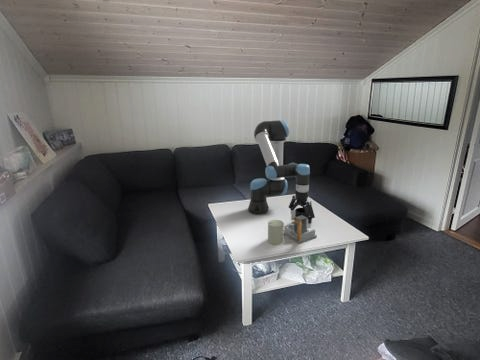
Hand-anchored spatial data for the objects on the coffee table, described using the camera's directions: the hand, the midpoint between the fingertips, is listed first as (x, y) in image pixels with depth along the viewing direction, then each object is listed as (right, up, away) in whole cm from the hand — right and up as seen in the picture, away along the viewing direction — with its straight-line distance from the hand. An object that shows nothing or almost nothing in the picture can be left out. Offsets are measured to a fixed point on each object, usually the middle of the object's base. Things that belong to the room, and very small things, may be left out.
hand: (300, 223), depth 178 cm
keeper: (-1, -7, +2) cm, 7 cm away
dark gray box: (0, -6, +1) cm, 6 cm away
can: (-16, -10, -5) cm, 19 cm away
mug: (+6, -2, +18) cm, 19 cm away
